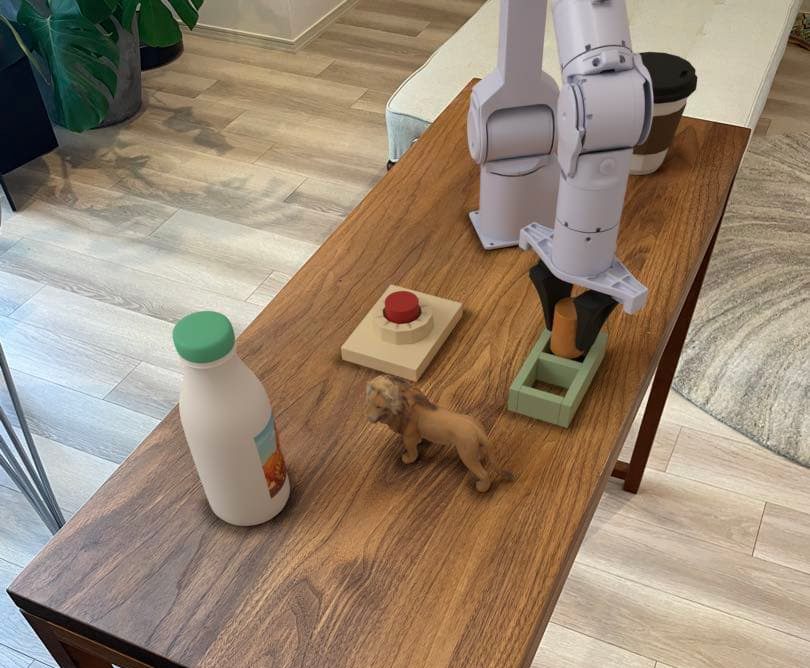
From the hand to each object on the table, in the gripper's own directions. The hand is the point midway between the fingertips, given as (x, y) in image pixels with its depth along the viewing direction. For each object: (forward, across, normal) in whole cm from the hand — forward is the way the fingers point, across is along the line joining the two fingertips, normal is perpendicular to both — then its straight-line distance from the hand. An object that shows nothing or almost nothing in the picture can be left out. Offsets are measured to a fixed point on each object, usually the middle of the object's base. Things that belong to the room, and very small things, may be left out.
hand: (570, 336), depth 85 cm
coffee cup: (+4, +22, -36) cm, 43 cm away
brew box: (+4, +15, +10) cm, 19 cm away
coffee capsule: (+1, 0, 0) cm, 1 cm away
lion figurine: (+4, -1, +19) cm, 20 cm away
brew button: (+1, +15, +10) cm, 18 cm away
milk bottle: (+4, +7, +35) cm, 36 cm away
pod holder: (+4, -1, +2) cm, 5 cm away
